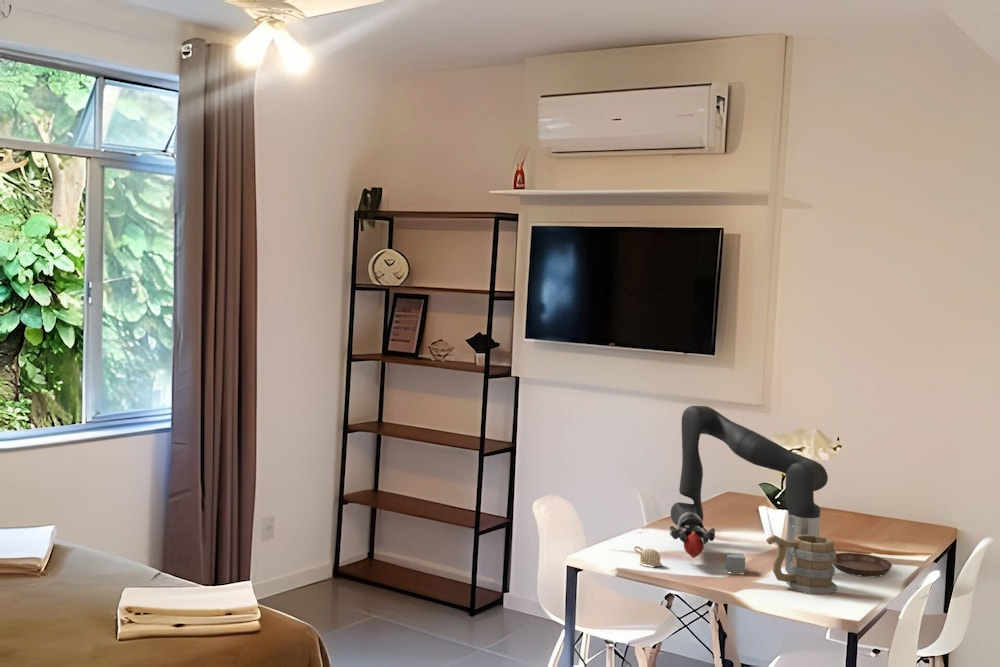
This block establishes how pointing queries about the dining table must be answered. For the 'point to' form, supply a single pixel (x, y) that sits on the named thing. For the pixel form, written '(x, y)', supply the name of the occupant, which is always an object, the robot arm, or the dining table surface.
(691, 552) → the red squash
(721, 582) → the dining table surface
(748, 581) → the dining table surface
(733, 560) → the grey block
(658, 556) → the decorative ornament
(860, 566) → the plant saucer
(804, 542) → the tankard
